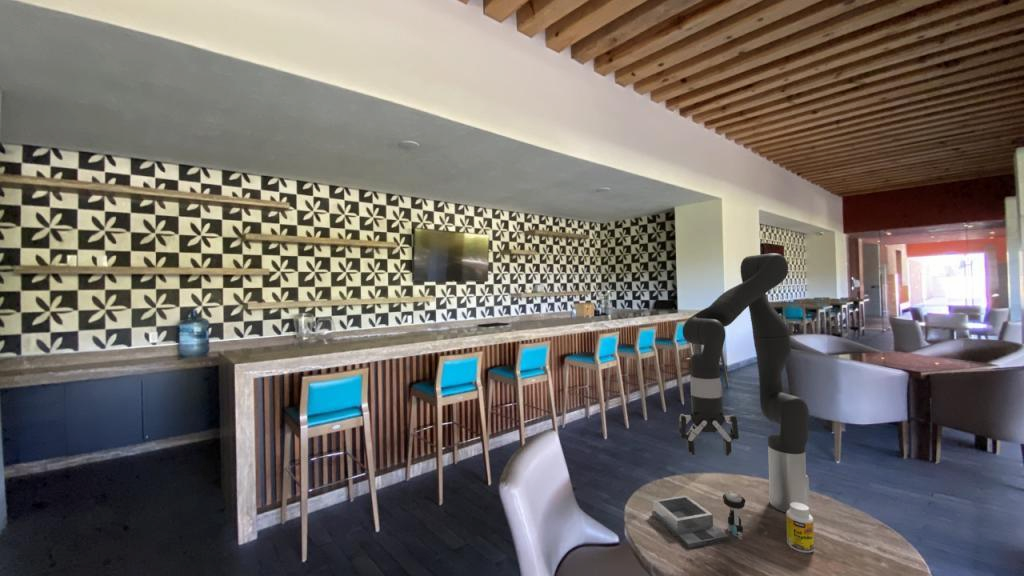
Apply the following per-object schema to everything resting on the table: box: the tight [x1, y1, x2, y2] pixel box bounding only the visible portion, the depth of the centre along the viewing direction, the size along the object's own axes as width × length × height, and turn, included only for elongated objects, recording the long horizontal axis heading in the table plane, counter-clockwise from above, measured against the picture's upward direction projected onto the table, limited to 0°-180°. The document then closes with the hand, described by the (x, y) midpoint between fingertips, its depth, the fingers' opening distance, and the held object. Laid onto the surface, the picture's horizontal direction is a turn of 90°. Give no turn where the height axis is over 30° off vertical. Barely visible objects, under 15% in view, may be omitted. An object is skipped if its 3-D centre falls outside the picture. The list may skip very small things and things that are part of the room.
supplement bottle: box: [785, 502, 815, 554], centre depth 102 cm, size 6×6×10 cm
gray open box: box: [651, 495, 730, 550], centre depth 112 cm, size 12×16×4 cm
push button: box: [722, 491, 746, 540], centre depth 108 cm, size 7×5×10 cm
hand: (709, 454), depth 109 cm, fingers open, 8 cm apart
